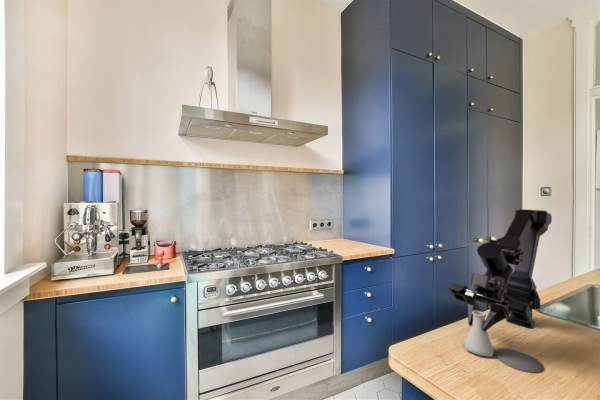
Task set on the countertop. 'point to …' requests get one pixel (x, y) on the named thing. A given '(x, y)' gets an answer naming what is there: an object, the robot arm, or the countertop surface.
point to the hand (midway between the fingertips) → (476, 327)
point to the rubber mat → (519, 360)
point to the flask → (478, 337)
